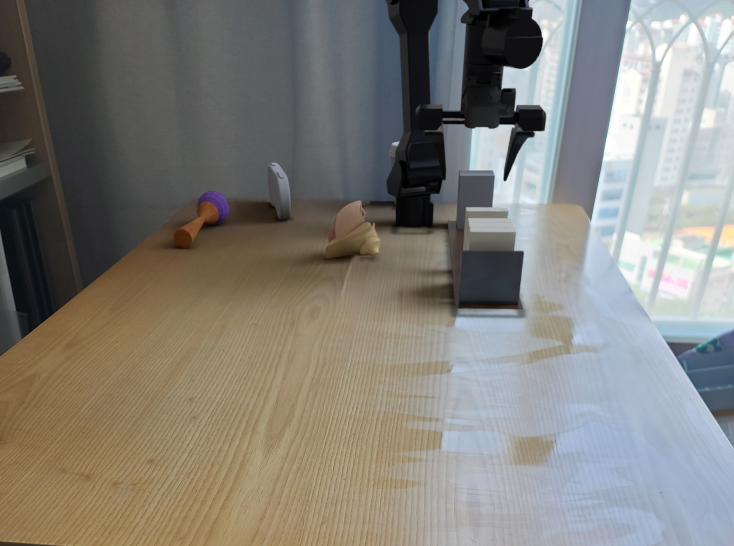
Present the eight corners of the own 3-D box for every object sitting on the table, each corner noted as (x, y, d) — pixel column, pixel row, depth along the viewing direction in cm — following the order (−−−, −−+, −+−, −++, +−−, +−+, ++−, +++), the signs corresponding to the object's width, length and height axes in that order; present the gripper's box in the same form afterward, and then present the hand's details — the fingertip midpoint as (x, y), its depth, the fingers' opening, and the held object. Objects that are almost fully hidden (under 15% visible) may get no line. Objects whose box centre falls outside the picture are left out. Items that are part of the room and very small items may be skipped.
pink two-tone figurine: (395, 256, 126) (389, 225, 117) (346, 290, 126) (337, 262, 117) (365, 217, 128) (356, 184, 119) (317, 251, 128) (305, 220, 119)
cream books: (465, 298, 103) (470, 231, 98) (463, 282, 109) (467, 217, 104) (509, 299, 103) (516, 231, 98) (504, 282, 109) (511, 218, 104)
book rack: (455, 315, 101) (458, 255, 96) (447, 226, 140) (449, 180, 136) (522, 316, 100) (529, 255, 95) (495, 226, 140) (499, 180, 135)
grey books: (456, 229, 134) (460, 175, 129) (456, 222, 138) (459, 170, 133) (490, 229, 134) (494, 175, 129) (488, 222, 138) (492, 170, 133)
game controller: (293, 223, 144) (290, 176, 139) (281, 223, 143) (278, 177, 139) (279, 201, 160) (277, 159, 155) (269, 201, 159) (266, 159, 155)
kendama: (160, 224, 128) (198, 189, 143) (173, 258, 131) (208, 221, 147) (192, 218, 126) (227, 184, 142) (204, 252, 130) (236, 216, 145)
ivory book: (462, 273, 113) (466, 211, 108) (461, 268, 115) (465, 207, 110) (502, 273, 112) (508, 211, 107) (501, 269, 114) (507, 207, 109)
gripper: (416, 68, 100) (412, 191, 109) (558, 68, 98) (542, 193, 107) (418, 60, 109) (414, 175, 118) (547, 61, 108) (533, 176, 116)
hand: (474, 180), depth 115 cm, fingers open, 9 cm apart
